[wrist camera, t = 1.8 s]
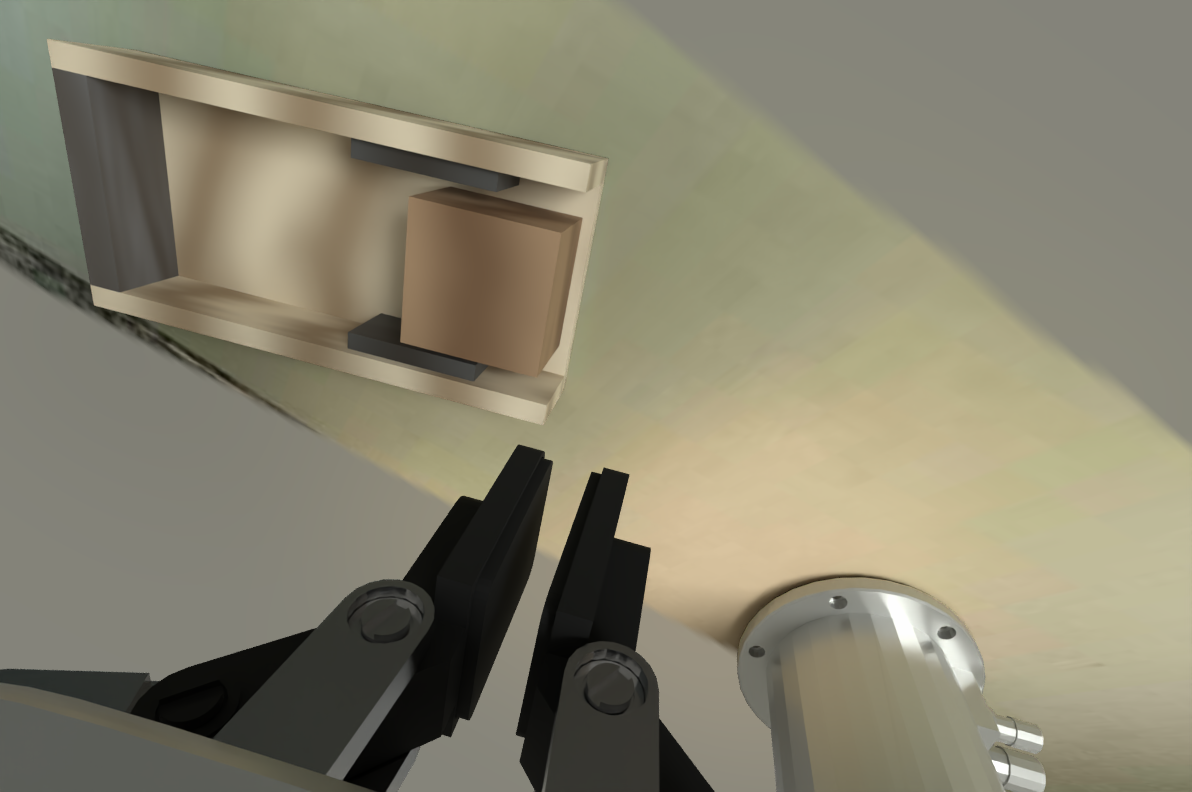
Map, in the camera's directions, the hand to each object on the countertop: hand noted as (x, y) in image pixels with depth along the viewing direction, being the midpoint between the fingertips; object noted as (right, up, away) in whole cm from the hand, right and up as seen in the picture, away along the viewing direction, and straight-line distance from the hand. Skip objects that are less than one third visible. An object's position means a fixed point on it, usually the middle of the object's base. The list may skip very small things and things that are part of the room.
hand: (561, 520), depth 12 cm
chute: (-10, +10, +16) cm, 22 cm away
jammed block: (-3, +9, +16) cm, 18 cm away
